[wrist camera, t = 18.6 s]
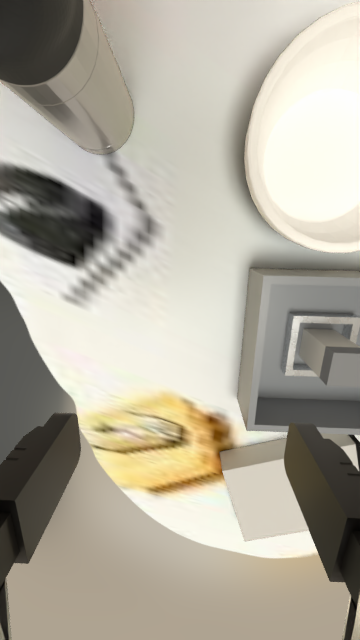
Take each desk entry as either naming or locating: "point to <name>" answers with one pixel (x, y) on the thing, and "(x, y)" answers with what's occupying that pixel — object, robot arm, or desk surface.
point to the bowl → (311, 137)
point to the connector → (331, 357)
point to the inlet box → (296, 349)
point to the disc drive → (269, 486)
